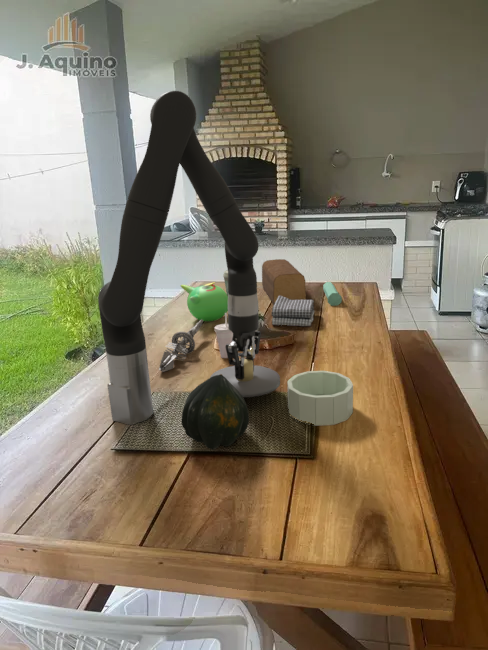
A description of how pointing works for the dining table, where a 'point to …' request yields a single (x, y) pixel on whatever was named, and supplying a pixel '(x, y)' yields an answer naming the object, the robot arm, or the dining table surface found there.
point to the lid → (252, 379)
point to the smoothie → (223, 337)
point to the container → (332, 294)
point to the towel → (292, 312)
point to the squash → (215, 413)
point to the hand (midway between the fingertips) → (244, 375)
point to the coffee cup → (226, 280)
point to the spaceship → (179, 347)
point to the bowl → (320, 397)
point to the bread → (282, 280)
